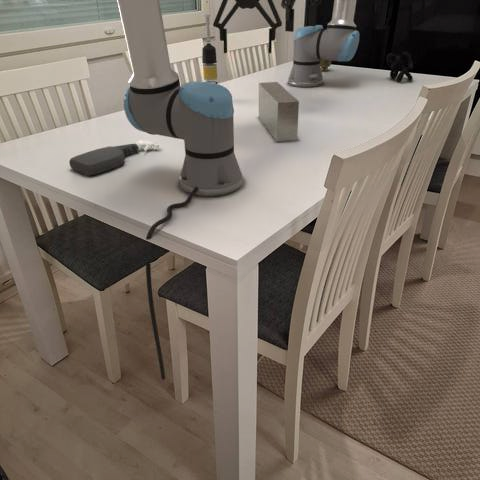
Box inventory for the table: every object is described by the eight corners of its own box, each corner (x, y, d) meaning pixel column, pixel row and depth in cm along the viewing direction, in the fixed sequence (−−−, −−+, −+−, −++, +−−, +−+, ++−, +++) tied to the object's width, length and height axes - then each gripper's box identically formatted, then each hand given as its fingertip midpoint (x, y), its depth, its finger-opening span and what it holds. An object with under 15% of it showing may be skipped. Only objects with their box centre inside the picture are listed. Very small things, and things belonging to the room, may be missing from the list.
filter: (220, 99, 177) (217, 15, 161) (206, 100, 176) (202, 16, 160) (215, 96, 182) (212, 14, 166) (202, 97, 180) (197, 14, 164)
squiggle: (400, 92, 202) (376, 71, 205) (417, 76, 202) (392, 56, 205) (405, 81, 191) (380, 59, 194) (423, 64, 191) (397, 42, 194)
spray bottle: (67, 168, 120) (139, 144, 136) (91, 178, 114) (163, 151, 130) (65, 157, 118) (137, 134, 134) (89, 167, 112) (162, 142, 128)
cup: (314, 71, 219) (315, 53, 215) (319, 68, 225) (320, 51, 220) (329, 72, 216) (330, 54, 212) (333, 69, 222) (335, 52, 217)
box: (297, 140, 136) (299, 101, 130) (276, 142, 135) (277, 102, 129) (276, 116, 157) (277, 81, 151) (258, 117, 156) (258, 82, 150)
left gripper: (292, -30, 127) (288, 50, 138) (205, -29, 129) (209, 50, 140) (292, -30, 120) (288, 54, 131) (201, -28, 123) (205, 54, 134)
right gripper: (315, -48, 146) (311, 23, 158) (270, -47, 131) (269, 32, 142) (335, -49, 142) (330, 24, 154) (291, -47, 126) (289, 34, 138)
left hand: (247, 52), depth 136 cm, fingers open, 13 cm apart
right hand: (300, 28), depth 148 cm, fingers open, 13 cm apart
